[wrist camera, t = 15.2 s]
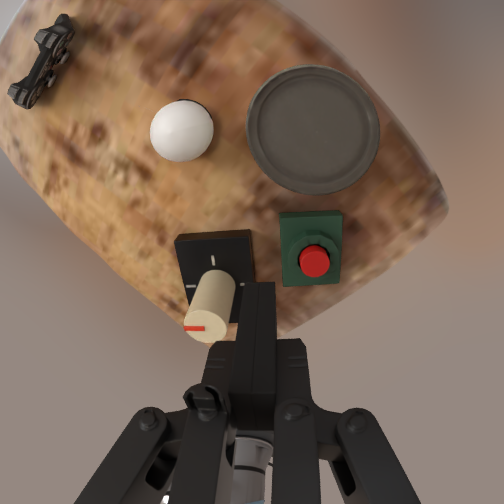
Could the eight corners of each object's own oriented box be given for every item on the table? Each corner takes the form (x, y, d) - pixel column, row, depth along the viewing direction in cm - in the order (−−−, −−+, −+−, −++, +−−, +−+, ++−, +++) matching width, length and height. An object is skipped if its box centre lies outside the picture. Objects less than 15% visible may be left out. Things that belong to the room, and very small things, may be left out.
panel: (258, 312, 44) (257, 323, 41) (197, 313, 45) (193, 324, 42) (249, 229, 38) (248, 236, 35) (179, 234, 38) (173, 241, 36)
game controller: (45, 109, 32) (23, 126, 26) (18, 96, 28) (-8, 112, 21) (94, 26, 26) (78, 22, 20) (64, 12, 22) (43, 8, 15)
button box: (336, 275, 40) (342, 290, 36) (282, 278, 41) (283, 294, 37) (339, 210, 36) (346, 220, 32) (279, 212, 36) (280, 223, 33)
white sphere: (231, 128, 32) (222, 129, 25) (191, 169, 34) (173, 181, 28) (176, 78, 29) (154, 69, 22) (139, 121, 32) (111, 122, 25)
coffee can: (353, 116, 30) (402, 116, 17) (311, 182, 34) (335, 219, 22) (281, 72, 28) (289, 40, 16) (239, 141, 32) (220, 153, 20)
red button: (326, 269, 35) (329, 276, 34) (299, 271, 36) (300, 278, 34) (327, 244, 34) (330, 250, 32) (299, 245, 34) (300, 252, 33)
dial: (232, 268, 37) (222, 311, 29) (237, 299, 40) (229, 345, 31) (197, 270, 38) (178, 312, 30) (203, 300, 40) (188, 344, 32)
